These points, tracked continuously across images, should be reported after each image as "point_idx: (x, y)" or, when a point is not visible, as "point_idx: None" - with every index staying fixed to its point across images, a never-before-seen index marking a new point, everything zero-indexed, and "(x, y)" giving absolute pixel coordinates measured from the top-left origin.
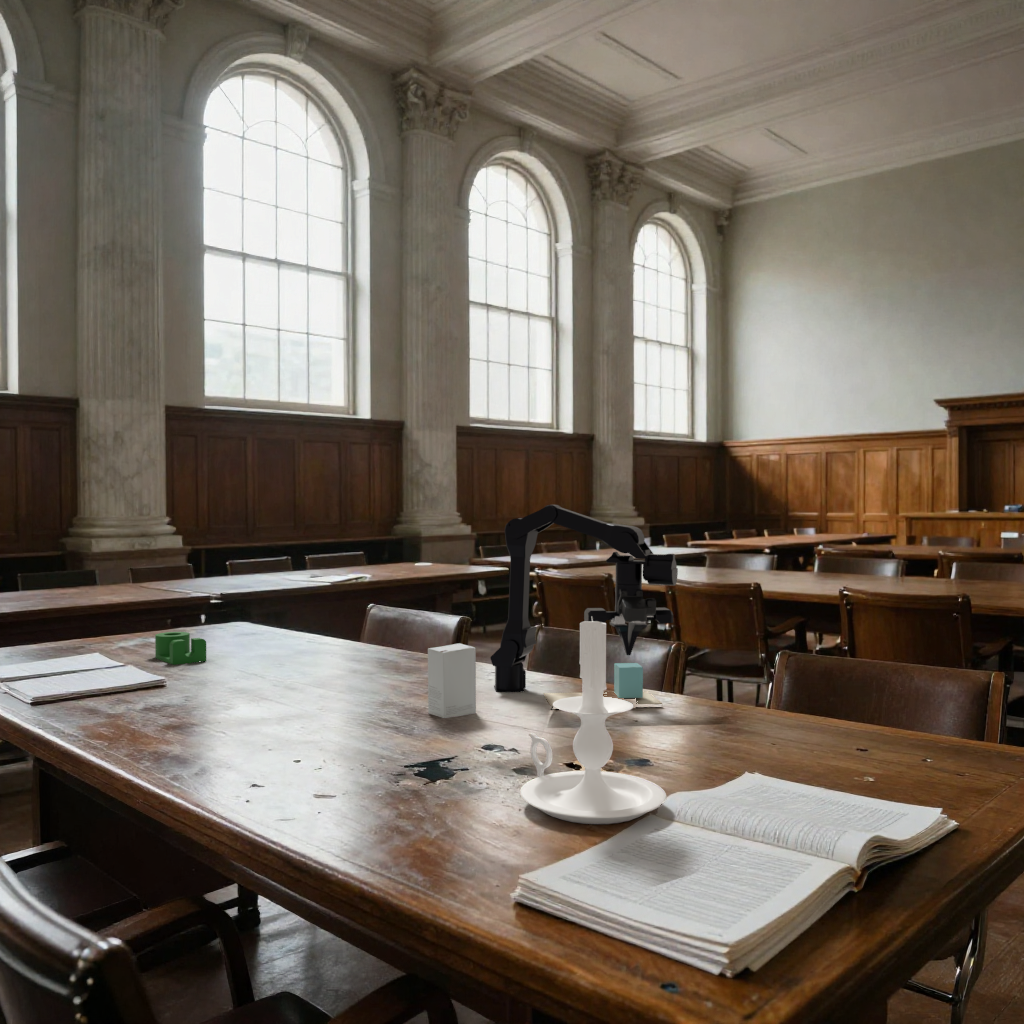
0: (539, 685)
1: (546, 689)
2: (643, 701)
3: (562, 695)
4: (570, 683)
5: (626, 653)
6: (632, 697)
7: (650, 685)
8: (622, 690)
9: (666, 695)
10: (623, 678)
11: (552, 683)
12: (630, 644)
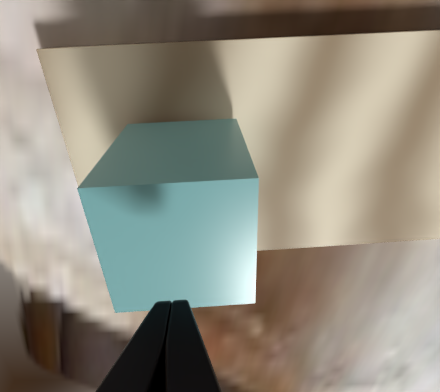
0: (397, 351)
1: (398, 317)
2: (127, 89)
3: (425, 204)
4: (310, 369)
5: (190, 309)
6: (174, 122)
7: (96, 358)
8: (223, 128)
9: (41, 255)
10: (221, 150)
11: (355, 368)
12: (141, 388)
